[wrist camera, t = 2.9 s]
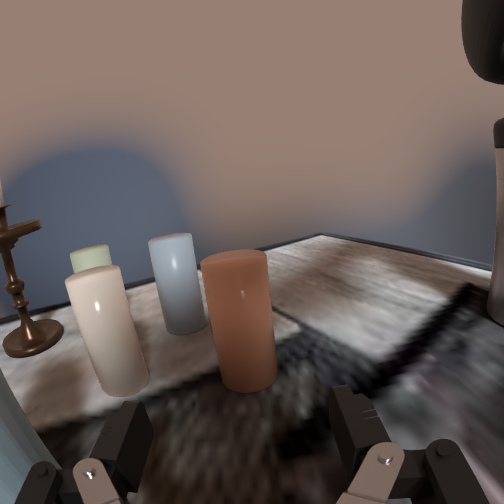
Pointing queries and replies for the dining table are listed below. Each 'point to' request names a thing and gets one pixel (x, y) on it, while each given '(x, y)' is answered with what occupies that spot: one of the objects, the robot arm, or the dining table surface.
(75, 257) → the sage canister
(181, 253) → the dusty blue canister
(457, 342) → the dining table surface
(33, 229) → the candlestick
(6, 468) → the bottle
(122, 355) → the cream canister
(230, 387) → the terracotta canister
